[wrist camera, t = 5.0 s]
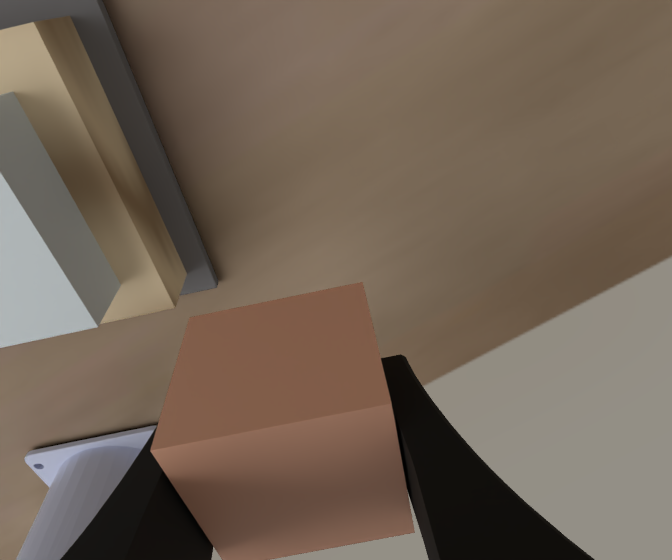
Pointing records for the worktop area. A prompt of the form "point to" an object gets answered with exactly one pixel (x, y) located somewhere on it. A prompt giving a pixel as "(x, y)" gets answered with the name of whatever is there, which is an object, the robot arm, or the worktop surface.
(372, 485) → the terracotta block
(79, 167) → the oak slab
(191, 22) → the worktop surface
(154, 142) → the rubber mat
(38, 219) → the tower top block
